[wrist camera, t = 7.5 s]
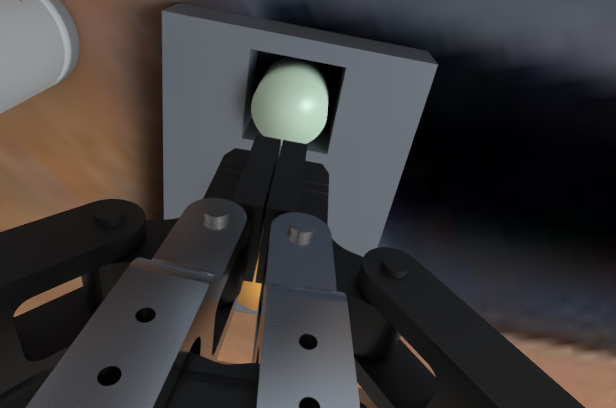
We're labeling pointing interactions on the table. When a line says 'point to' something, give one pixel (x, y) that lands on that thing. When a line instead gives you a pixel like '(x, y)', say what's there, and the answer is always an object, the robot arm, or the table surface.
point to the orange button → (250, 293)
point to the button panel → (242, 131)
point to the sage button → (291, 101)
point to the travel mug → (34, 48)
